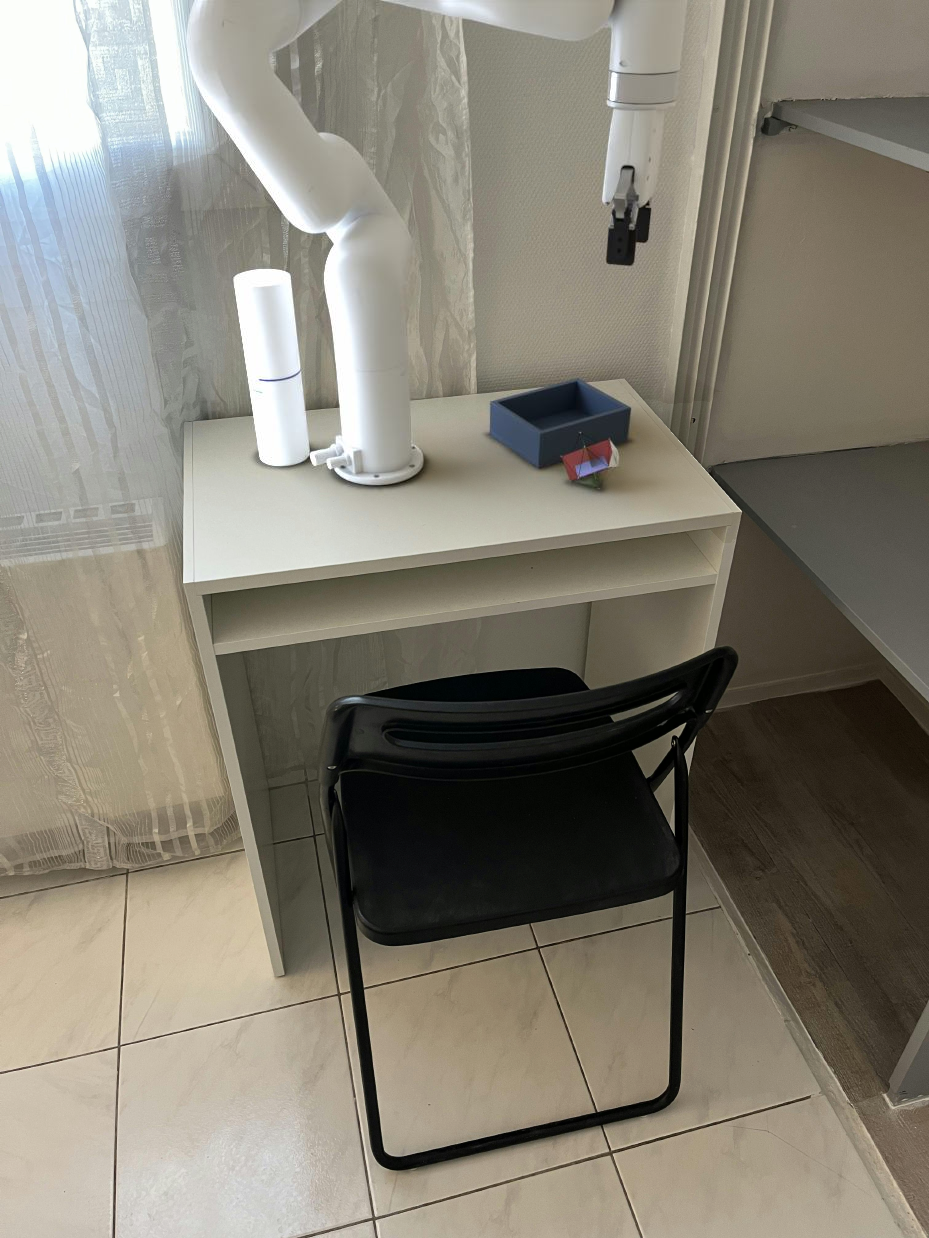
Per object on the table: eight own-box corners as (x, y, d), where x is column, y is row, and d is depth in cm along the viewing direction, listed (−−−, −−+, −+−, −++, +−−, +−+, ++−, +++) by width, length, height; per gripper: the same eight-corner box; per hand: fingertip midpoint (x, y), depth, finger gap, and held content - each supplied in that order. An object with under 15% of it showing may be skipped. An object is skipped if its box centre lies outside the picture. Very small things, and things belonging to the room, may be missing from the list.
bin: (538, 468, 131) (539, 433, 128) (489, 434, 139) (489, 401, 136) (627, 441, 138) (631, 407, 134) (575, 410, 146) (578, 378, 143)
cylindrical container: (300, 468, 131) (278, 288, 116) (252, 463, 132) (224, 284, 117) (316, 445, 137) (298, 271, 122) (270, 441, 138) (246, 267, 123)
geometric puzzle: (552, 480, 124) (593, 435, 120) (547, 456, 129) (585, 412, 125) (593, 508, 126) (634, 465, 123) (586, 483, 132) (624, 441, 128)
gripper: (622, 77, 109) (610, 231, 119) (591, 100, 96) (580, 271, 106) (687, 79, 107) (669, 236, 117) (665, 103, 94) (646, 277, 104)
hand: (627, 252), depth 112 cm, fingers open, 9 cm apart
